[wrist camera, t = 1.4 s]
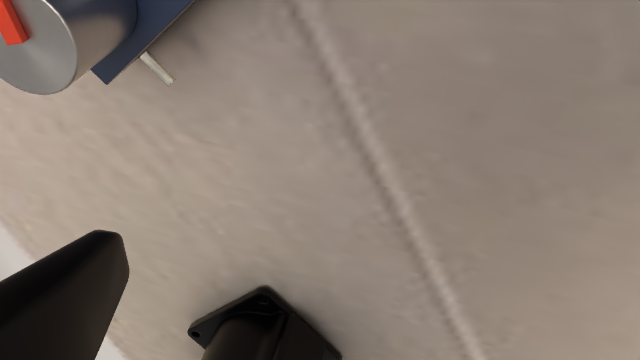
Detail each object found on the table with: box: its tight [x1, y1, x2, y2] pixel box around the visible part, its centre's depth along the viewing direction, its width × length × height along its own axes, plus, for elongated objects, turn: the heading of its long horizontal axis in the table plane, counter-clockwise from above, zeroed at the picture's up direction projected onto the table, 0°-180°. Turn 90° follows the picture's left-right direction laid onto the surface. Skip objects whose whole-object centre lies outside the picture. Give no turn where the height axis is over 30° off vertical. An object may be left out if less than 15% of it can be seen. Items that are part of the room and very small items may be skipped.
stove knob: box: [0, 0, 137, 95], centre depth 18 cm, size 3×3×4 cm
